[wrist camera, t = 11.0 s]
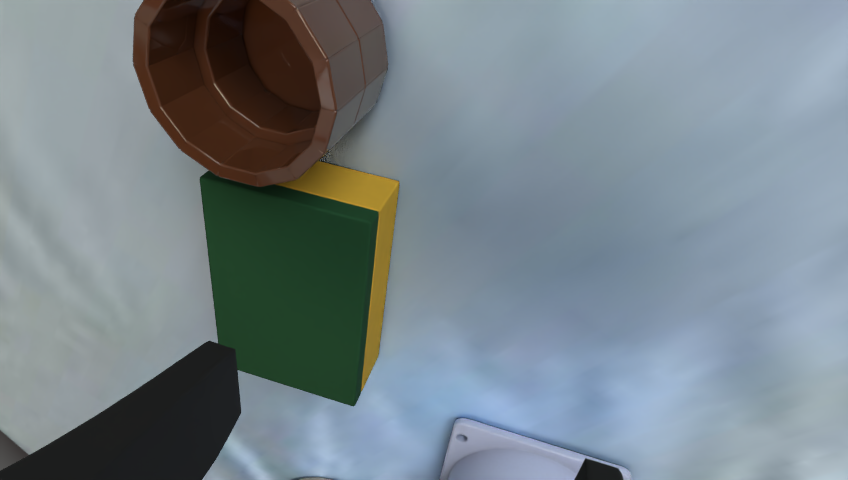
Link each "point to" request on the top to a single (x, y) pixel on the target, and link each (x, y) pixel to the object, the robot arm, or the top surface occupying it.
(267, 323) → the sponge
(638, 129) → the top surface
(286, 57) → the brown hollow cylinder
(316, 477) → the mug
